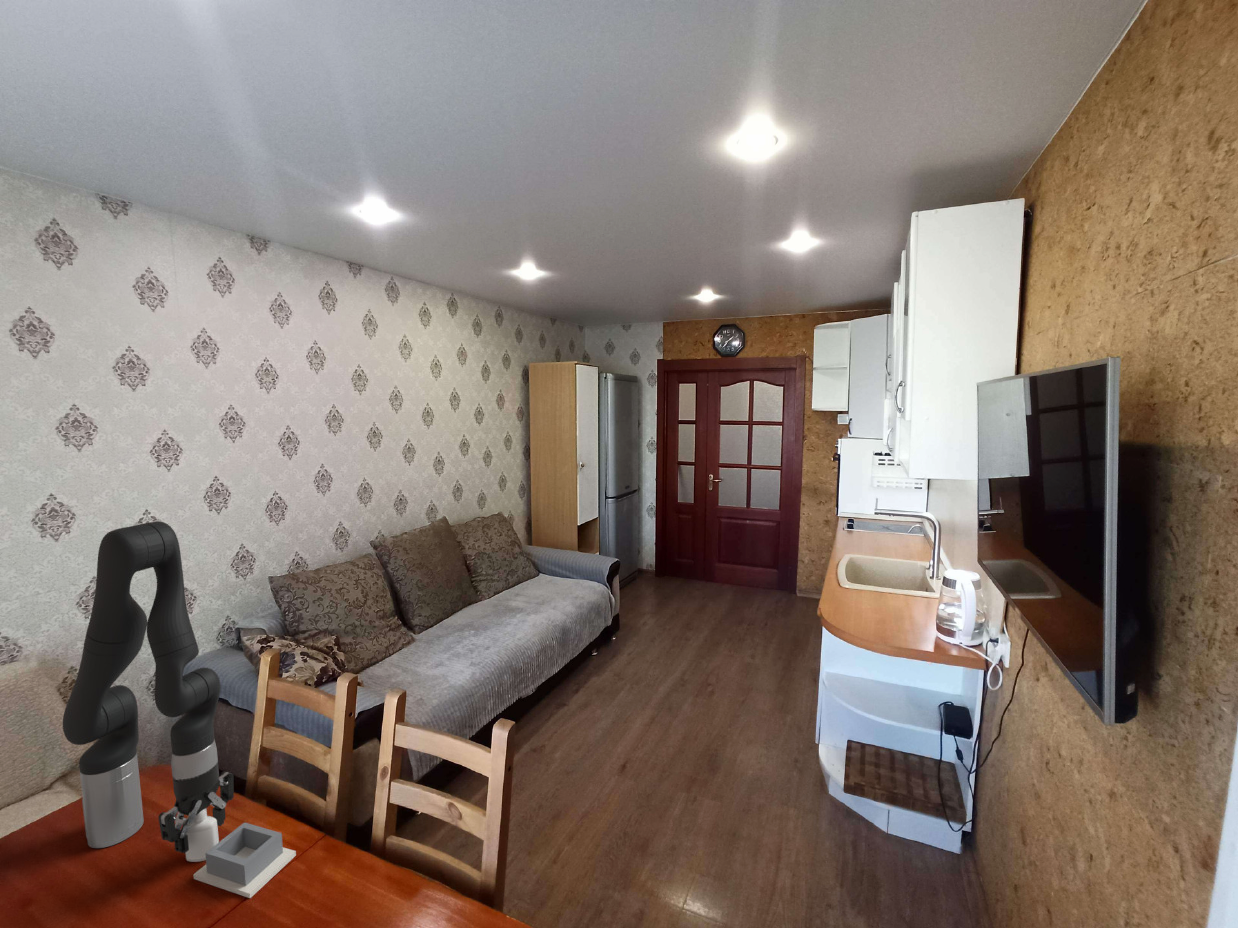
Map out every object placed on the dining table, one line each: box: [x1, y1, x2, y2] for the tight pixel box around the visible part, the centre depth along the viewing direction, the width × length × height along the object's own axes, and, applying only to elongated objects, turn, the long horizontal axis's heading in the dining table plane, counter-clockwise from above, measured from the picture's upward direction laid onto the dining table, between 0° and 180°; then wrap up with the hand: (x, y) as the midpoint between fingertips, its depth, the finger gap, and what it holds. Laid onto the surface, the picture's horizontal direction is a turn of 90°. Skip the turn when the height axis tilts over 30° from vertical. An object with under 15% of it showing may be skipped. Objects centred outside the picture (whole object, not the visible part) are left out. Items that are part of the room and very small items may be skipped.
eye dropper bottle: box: [185, 808, 220, 863], centre depth 114 cm, size 4×6×12 cm
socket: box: [193, 822, 297, 899], centre depth 112 cm, size 15×10×6 cm
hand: (201, 837), depth 114 cm, fingers open, 7 cm apart
